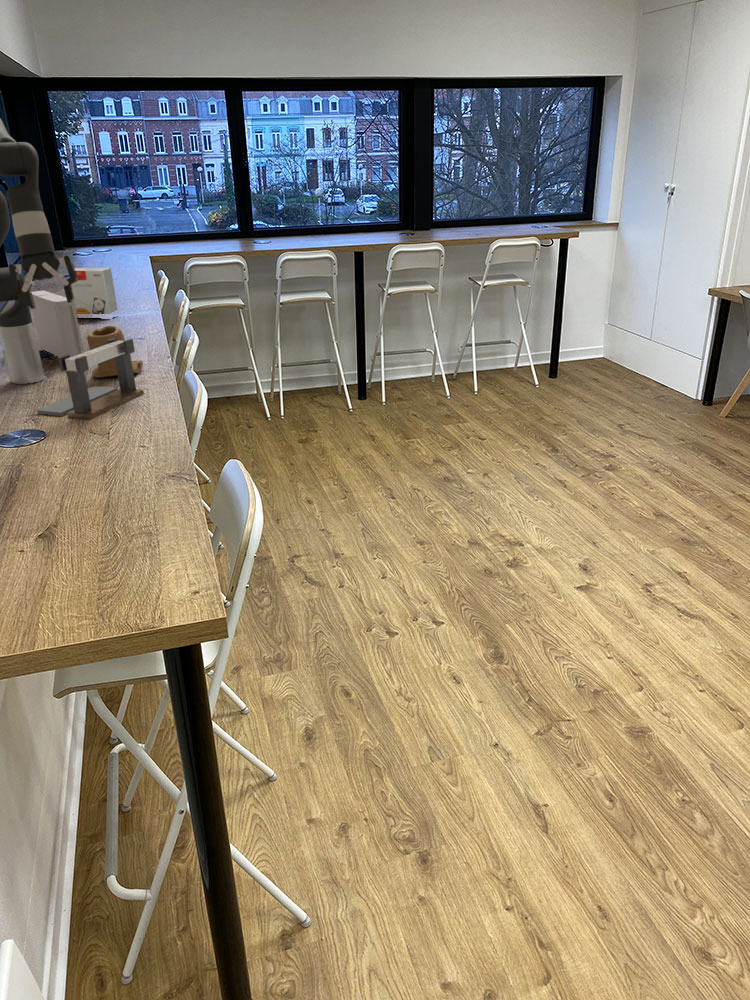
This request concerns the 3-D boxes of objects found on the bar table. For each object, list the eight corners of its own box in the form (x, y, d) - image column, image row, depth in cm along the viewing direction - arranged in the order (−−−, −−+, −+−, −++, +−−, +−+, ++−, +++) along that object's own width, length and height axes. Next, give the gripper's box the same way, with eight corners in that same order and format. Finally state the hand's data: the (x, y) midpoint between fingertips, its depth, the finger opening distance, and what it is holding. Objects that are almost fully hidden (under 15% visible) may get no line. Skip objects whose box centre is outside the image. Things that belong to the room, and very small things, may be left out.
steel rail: (67, 370, 191) (64, 359, 190) (119, 351, 209) (117, 340, 207) (76, 371, 190) (74, 360, 189) (128, 351, 208) (126, 341, 206)
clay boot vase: (91, 383, 225) (81, 333, 219) (94, 372, 236) (85, 325, 229) (143, 378, 228) (135, 328, 222) (144, 368, 239) (136, 321, 232)
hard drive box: (76, 319, 314) (67, 270, 306) (86, 315, 321) (76, 267, 313) (111, 319, 312) (102, 270, 303) (119, 315, 319) (111, 267, 310)
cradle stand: (68, 416, 196) (55, 357, 189) (123, 391, 215) (113, 337, 209) (89, 419, 194) (77, 359, 187) (143, 393, 213) (134, 338, 206)
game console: (68, 363, 247) (55, 302, 239) (39, 349, 266) (26, 292, 258) (85, 360, 251) (73, 299, 242) (55, 347, 270) (43, 290, 261)
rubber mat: (37, 413, 199) (37, 410, 199) (95, 389, 219) (94, 385, 218) (61, 416, 197) (61, 412, 196) (117, 391, 216) (117, 387, 216)
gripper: (68, 232, 179) (85, 301, 183) (6, 241, 177) (25, 311, 181) (60, 227, 172) (78, 299, 175) (-4, 237, 170) (16, 309, 173)
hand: (51, 305), depth 178 cm, fingers open, 8 cm apart
